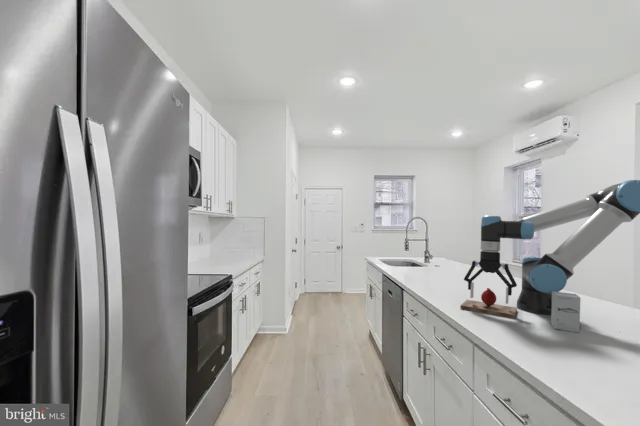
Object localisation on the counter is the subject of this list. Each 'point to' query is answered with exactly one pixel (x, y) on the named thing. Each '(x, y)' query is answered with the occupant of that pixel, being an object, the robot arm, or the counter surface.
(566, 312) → the supplement box
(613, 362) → the counter surface
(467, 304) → the walnut board
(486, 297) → the onion
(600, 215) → the robot arm
